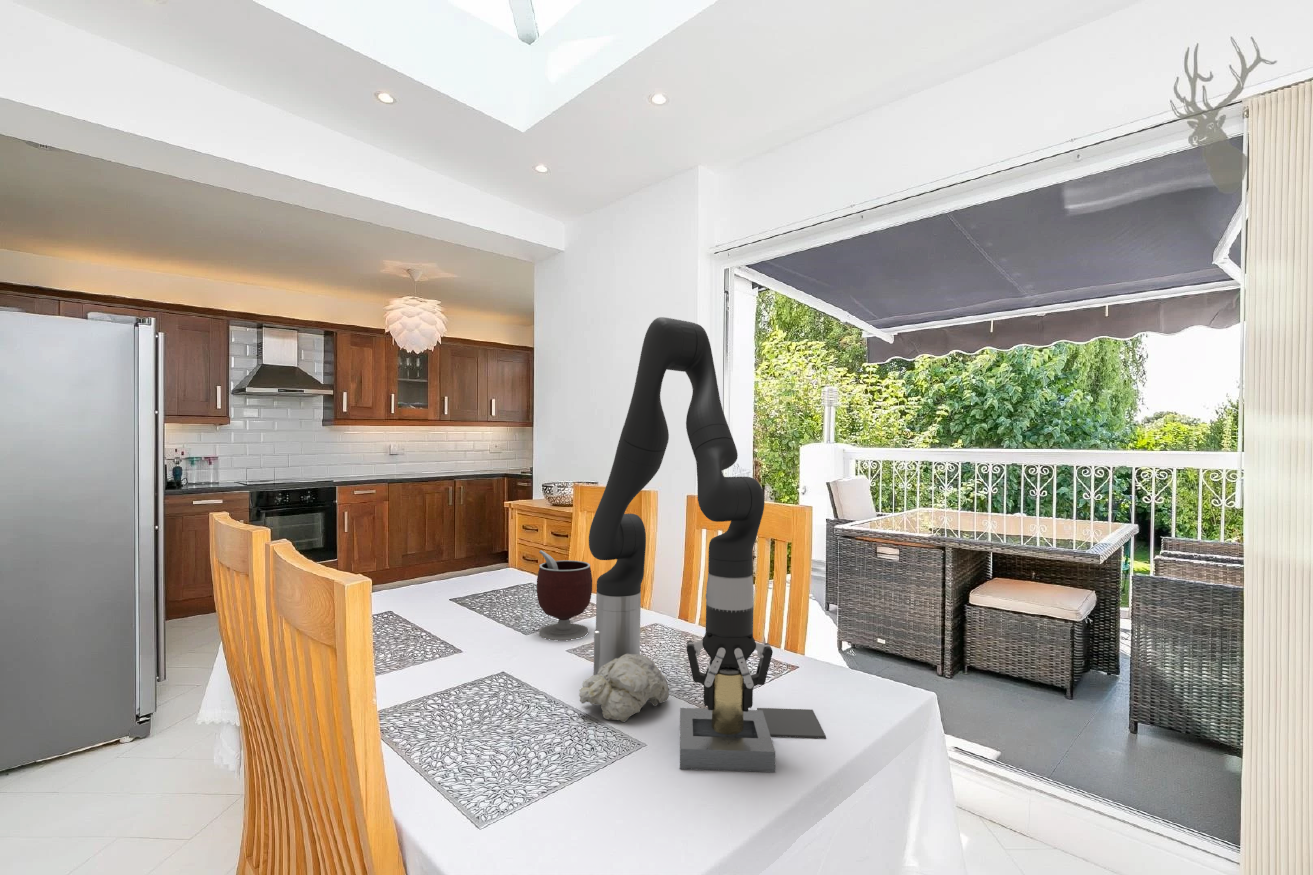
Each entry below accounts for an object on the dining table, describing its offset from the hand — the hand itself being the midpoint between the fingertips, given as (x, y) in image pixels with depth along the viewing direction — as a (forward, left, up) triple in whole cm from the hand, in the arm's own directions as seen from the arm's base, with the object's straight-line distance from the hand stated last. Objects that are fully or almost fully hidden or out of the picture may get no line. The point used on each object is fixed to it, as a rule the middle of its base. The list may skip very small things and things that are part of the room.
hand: (727, 708), depth 97 cm
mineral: (-17, +12, -6) cm, 22 cm away
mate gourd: (-38, +56, -6) cm, 68 cm away
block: (-1, 0, -6) cm, 6 cm away
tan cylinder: (0, 0, -3) cm, 3 cm away
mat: (+11, +9, -6) cm, 16 cm away
